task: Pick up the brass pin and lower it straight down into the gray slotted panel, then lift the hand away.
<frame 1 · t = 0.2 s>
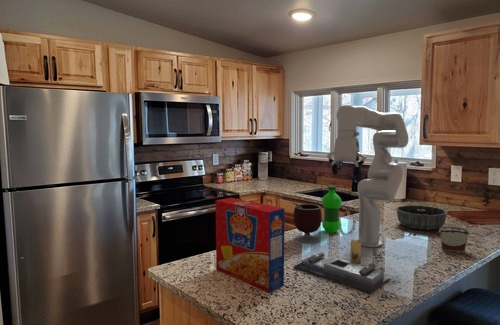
hand: (345, 175, 149), 36 cm above the counter, tool pointing down, fingers open, 9 cm apart
food container: (451, 249, 162), on the counter
pasta box: (248, 277, 131), on the counter
plastic bottle: (331, 231, 190), on the counter
mate gourd: (305, 240, 175), on the counter
gray slotted panel: (340, 273, 134), on the counter
bundt pan: (420, 226, 200), on the counter
brass pin: (355, 265, 142), on the counter
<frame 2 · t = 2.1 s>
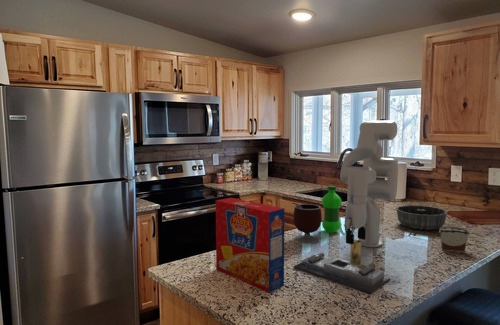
hand: (355, 241, 141), 10 cm above the counter, tool pointing down, fingers open, 9 cm apart
nothing on the counter moved.
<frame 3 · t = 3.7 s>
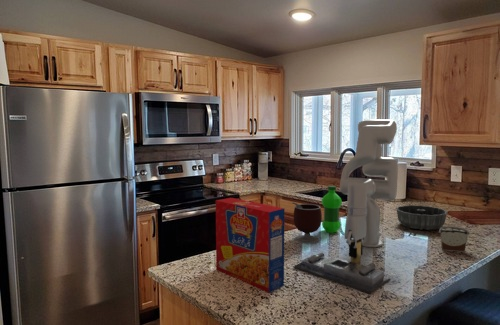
hand: (355, 255, 142), 4 cm above the counter, tool pointing down, fingers closed on brass pin, 4 cm apart
brass pin: (355, 265, 142), on the counter, touching gripper
everything else where it was.
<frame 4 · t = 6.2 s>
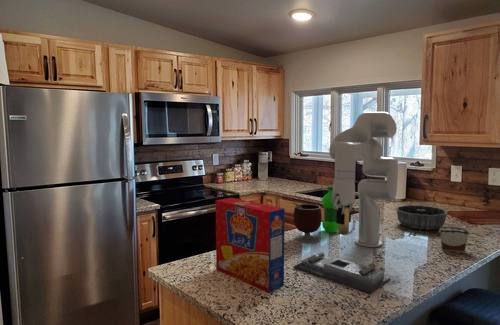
hand: (343, 222, 133), 20 cm above the counter, tool pointing down, fingers closed on brass pin, 4 cm apart
brass pin: (343, 233, 133), point 16 cm above the counter, touching gripper
everything else where it was.
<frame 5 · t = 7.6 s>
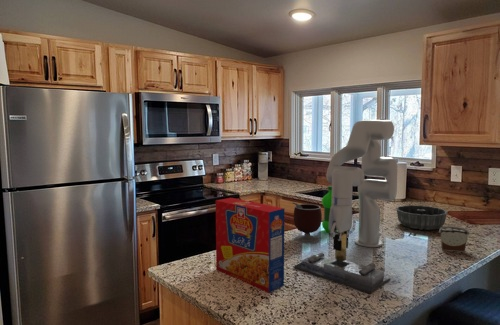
hand: (340, 248, 133), 10 cm above the counter, tool pointing down, fingers closed on brass pin, 4 cm apart
brass pin: (340, 259, 133), point 6 cm above the counter, touching gripper
everything else where it was.
when the fingers open (6 cm above the counter, at t = 8.7 s): brass pin stays where it is, resting on gray slotted panel.
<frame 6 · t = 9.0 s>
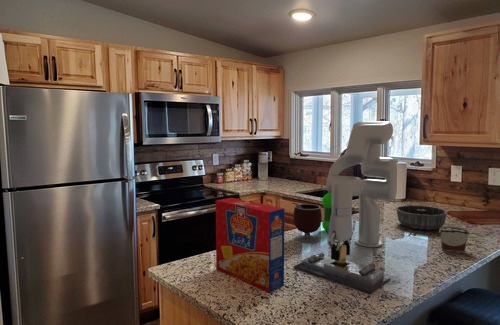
hand: (340, 256, 133), 7 cm above the counter, tool pointing down, fingers open, 7 cm apart
brass pin: (340, 271, 134), point 1 cm above the counter, touching gray slotted panel
everything else where it was.
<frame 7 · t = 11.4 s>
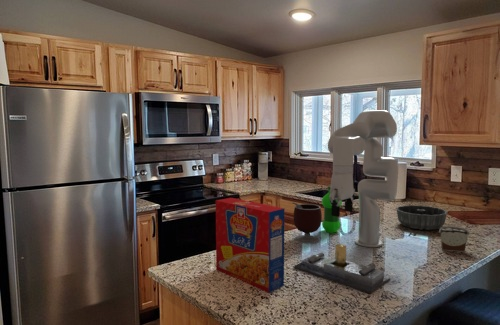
hand: (342, 213, 134), 23 cm above the counter, tool pointing down, fingers open, 9 cm apart
nothing on the counter moved.
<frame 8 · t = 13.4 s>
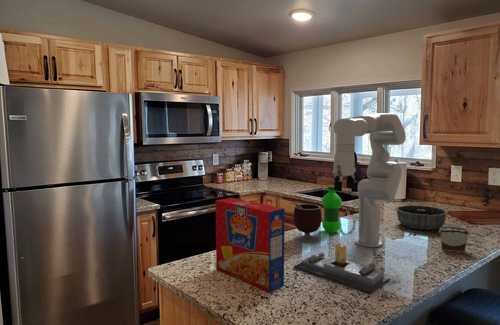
hand: (344, 189, 146), 30 cm above the counter, tool pointing down, fingers open, 9 cm apart
nothing on the counter moved.
at the end: brass pin 0.1 cm off-centre on the gray slotted panel, point 1.0 cm above the gray slotted panel's base; brass pin tilted 0°; the gripper is holding nothing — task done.
